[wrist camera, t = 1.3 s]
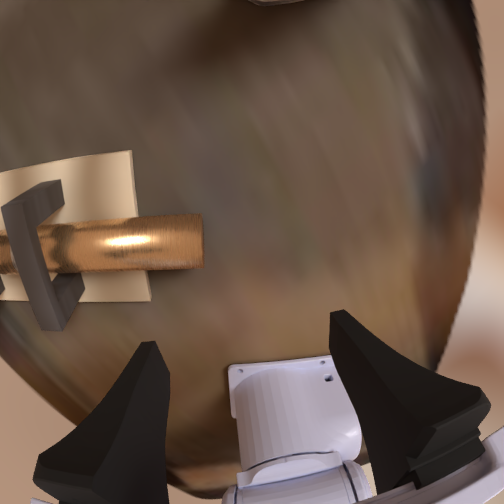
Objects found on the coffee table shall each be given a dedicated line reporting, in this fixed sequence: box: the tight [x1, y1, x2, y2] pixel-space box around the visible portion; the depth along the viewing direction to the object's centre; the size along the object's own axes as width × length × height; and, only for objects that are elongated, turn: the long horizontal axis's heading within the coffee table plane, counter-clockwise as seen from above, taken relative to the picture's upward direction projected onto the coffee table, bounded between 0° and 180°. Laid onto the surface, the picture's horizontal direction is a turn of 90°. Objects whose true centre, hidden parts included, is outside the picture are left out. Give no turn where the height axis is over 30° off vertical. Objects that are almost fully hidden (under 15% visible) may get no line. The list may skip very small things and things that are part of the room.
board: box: [0, 150, 152, 332], centre depth 15 cm, size 18×10×5 cm, turn 89°
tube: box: [0, 213, 204, 275], centre depth 16 cm, size 14×3×3 cm, turn 89°
